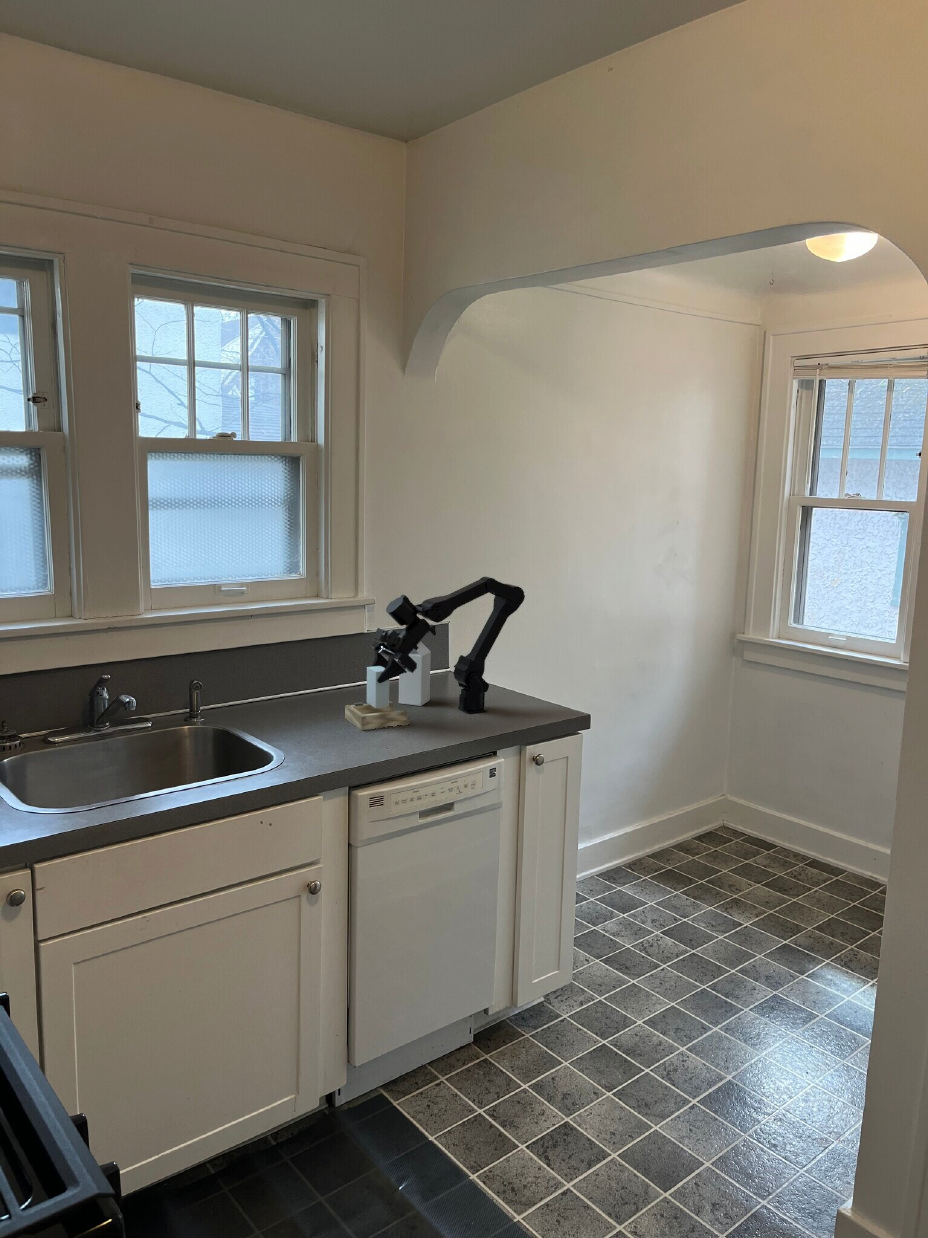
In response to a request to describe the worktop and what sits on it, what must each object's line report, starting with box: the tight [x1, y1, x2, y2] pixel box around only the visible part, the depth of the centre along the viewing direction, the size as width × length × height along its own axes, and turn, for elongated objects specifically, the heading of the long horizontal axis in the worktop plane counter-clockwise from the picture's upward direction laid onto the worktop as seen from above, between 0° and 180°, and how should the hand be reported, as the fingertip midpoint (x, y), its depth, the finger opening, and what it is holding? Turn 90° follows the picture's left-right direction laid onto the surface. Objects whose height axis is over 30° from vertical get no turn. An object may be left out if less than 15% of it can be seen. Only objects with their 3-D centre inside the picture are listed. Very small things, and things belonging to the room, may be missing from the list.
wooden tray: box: [344, 700, 411, 731], centre depth 254 cm, size 14×12×4 cm
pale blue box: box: [366, 666, 390, 708], centre depth 253 cm, size 4×6×10 cm, turn 29°
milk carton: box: [398, 640, 432, 707], centre depth 274 cm, size 7×7×19 cm
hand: (373, 679), depth 252 cm, fingers closed on pale blue box, 6 cm apart
